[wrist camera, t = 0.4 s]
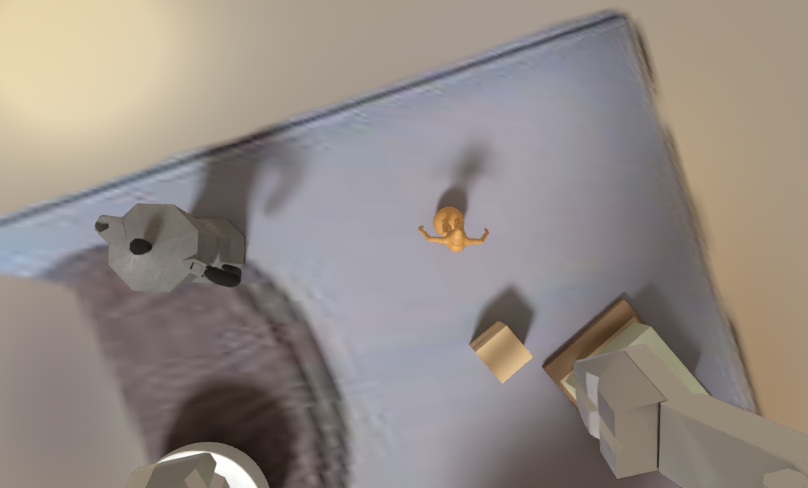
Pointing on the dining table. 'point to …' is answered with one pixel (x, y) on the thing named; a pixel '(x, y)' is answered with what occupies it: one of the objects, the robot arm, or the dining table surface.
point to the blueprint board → (590, 344)
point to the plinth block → (650, 338)
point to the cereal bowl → (225, 463)
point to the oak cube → (501, 351)
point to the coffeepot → (171, 248)
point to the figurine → (451, 230)
